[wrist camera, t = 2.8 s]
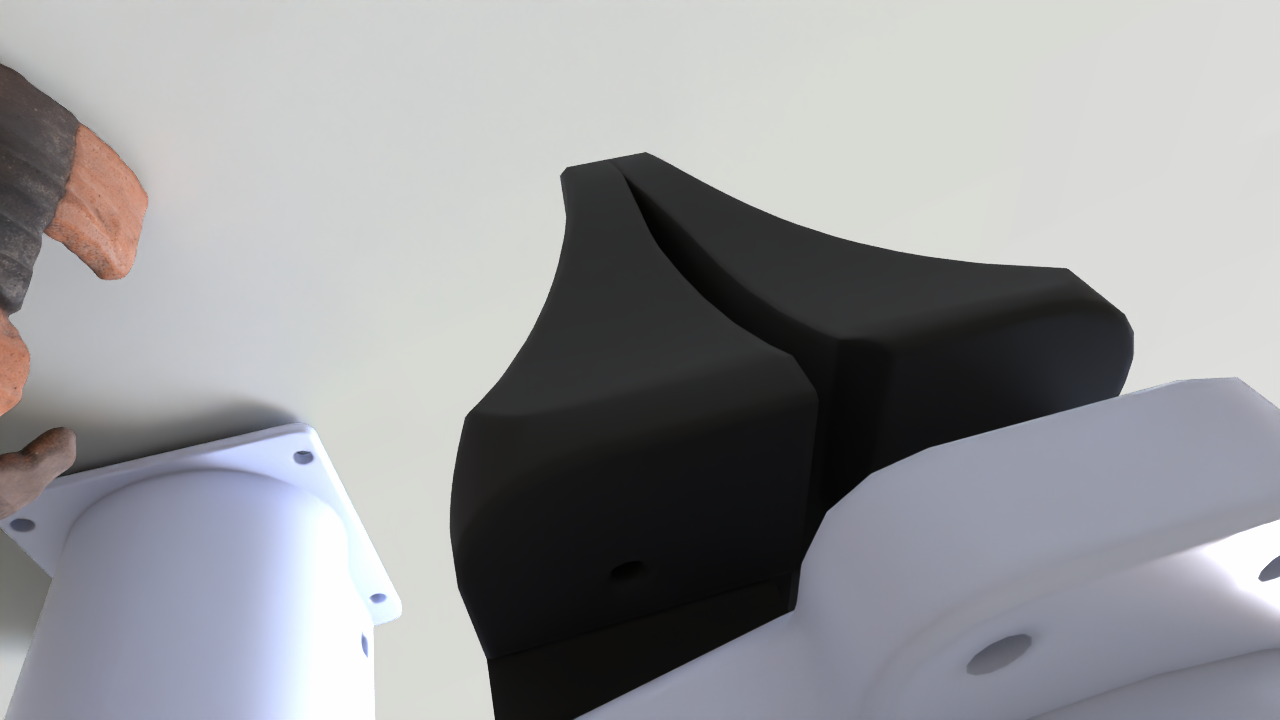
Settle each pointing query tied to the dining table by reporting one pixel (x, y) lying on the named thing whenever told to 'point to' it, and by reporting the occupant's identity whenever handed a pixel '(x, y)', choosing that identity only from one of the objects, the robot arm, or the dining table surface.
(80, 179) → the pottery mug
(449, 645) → the dining table surface
